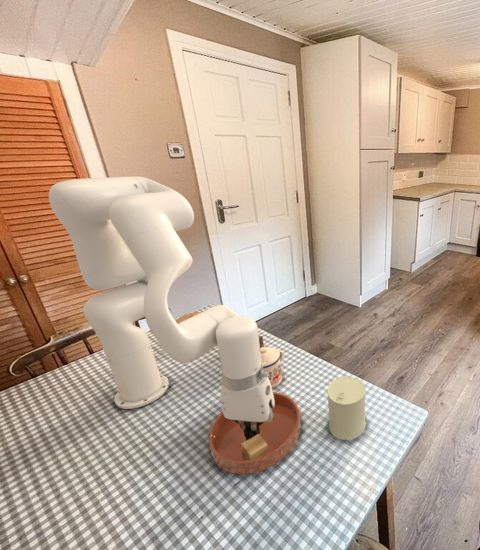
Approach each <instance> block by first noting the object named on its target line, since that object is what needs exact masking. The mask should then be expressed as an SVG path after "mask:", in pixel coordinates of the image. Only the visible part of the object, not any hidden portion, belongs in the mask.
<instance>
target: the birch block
mask: <svg viewBox="0 0 480 550" xmlns="http://www.w3.org/2000/svg"><path fill="white" fill-rule="evenodd" d="M241 446H242V458H243V460H251V459H255V458H259V457H261V456H264V455H266V454H268V447H267V443H266V442H265V441H264V440H263V439H262V437H261V436H260V435H259V434H257V435H255V436H254V437H252V438H250V439H248V440H247V441H245V442H243V443H242V444H241Z"/></svg>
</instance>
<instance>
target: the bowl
mask: <svg viewBox="0 0 480 550" xmlns="http://www.w3.org/2000/svg"><path fill="white" fill-rule="evenodd" d="M273 395H274V401H275V405H274V408H271V410H272V412H273V414H274V419H273V421H272V422H270V423H263V424H261V425H260V426H259V428H260V434H259V435H260V436H261V437H262V439H263V440H264V441H265V442H266V443H267V447H268V454H266V455H264V456H261V457H259V458H255V459H251V460H243V458H242V446H241V444H242V443H243V442H245V441H246V437H245V436H244V430H243V429H241V428H240V425H239V424H238V423H237V422H235V421H234V420H231V419H227V418H225V417H224V415H223V411H221V412H220V413H219V414H218V416H217V417H216V418H215V420H214V421H213V423H212V425H211V427H210V430H209V434H208V443H209V449H210V453H211V455H212V458H213V461H214V463H215V464H216V465H217V466H218V467H219V468H220V469H221V470H223V471H224V472H227V473H231V474H236V475H251V474H255V473H260V472H262V471H265V470H267V469H270V468H271V467H273V466H275V465H277V464H278V463H279V462H281V461H282V460H283V459H284V458H285V457H287V455H288V454H289V453H290V452H291V451H292V450H293V449H294V447H295V445H296V444H297V442H298V441H299V440H298V439H299V437H300V435H301V434H300V433H301V428H302V425H301V414H300V409H299V407H298V404H297V403H296V401H295V400H294V399H293V398H291V397H290V396H288V395H287V394H283V393H282V392H276V391H273Z"/></svg>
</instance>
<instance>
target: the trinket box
mask: <svg viewBox="0 0 480 550" xmlns="http://www.w3.org/2000/svg"><path fill="white" fill-rule="evenodd" d="M201 312H202V311H194V312H189V313H186V314H184V315H182V316H180V317H179V318H177V320H175V321H176V323H177V324H179V323H181V322H183V321H185V320H187V319H189V318H191V317H193V316H195V315H197V314H199V313H201Z"/></svg>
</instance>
